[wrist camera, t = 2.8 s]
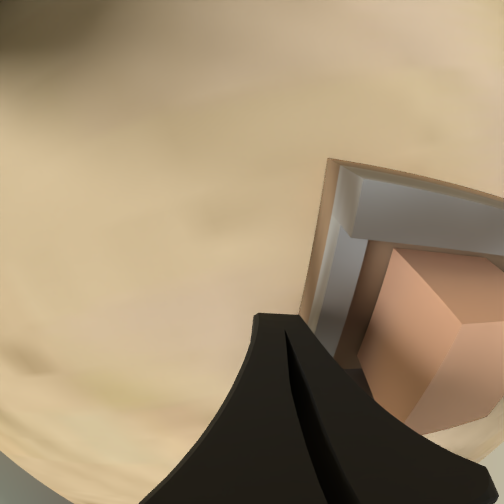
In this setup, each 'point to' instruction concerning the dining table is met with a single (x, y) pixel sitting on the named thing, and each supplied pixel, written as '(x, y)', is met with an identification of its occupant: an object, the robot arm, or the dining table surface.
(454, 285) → the salmon orange block
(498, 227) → the grey rectangular tray
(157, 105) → the dining table surface
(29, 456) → the dining table surface
